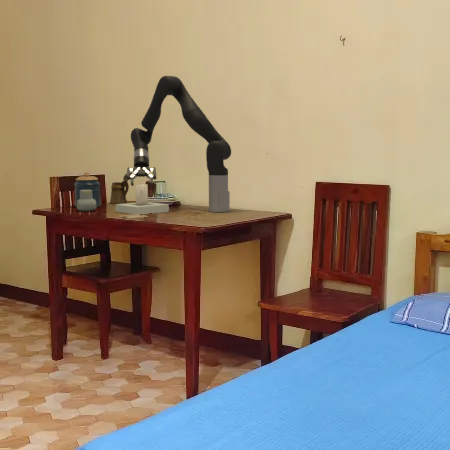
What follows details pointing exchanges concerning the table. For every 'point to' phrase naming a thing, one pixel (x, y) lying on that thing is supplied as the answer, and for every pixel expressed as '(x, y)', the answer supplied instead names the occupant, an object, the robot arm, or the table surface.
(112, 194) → the wooden mug
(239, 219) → the table surface
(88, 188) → the canister
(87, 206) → the air freshener
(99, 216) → the table surface
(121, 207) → the board
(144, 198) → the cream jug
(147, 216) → the cork coaster
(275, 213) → the table surface
